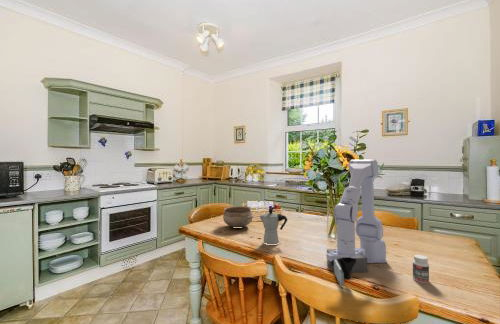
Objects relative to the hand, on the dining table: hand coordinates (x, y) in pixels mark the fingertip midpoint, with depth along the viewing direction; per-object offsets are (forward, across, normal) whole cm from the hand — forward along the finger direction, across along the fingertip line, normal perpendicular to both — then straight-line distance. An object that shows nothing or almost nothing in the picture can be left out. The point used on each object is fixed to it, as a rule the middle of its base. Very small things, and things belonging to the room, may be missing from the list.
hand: (346, 278), depth 84 cm
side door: (+2, 0, +4) cm, 4 cm away
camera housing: (+2, +10, +12) cm, 16 cm away
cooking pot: (+3, -16, +83) cm, 84 cm away
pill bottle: (+3, +27, -6) cm, 28 cm away
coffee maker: (+3, -6, +47) cm, 48 cm away
